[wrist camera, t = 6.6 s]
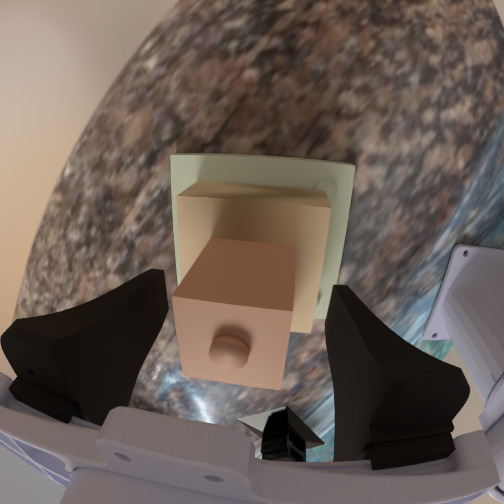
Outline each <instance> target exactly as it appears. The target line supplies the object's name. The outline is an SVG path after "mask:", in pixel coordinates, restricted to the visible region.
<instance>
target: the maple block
mask: <svg viewBox="0 0 504 504" xmlns="http://www.w3.org/2000/svg"><path fill="white" fill-rule="evenodd" d="M176 198H177V219H178V236H179V251H180V265H181V277H182V280H183V278H184V277H185V275H186V274H187V272H188V271H189V269H190V268H191V266H192V265H193V263H194V262H195V260H196V259H197V257H198V256H199V254H200V253H201V251H202V250H203V249H204V247H205V246H206V244H207V243H208V241H209V240H210V238H219V239H230V240H240V241H251V242H261V243H272V244H282V245H292V246H296V266H295V286H294V303H293V315H292V322H291V329H290V331H291V332H301V333H311V329H312V324H313V319H314V314H315V308H316V303H317V298H318V292H319V286H320V280H321V275H322V269H323V262H324V256H325V249H326V243H327V236H328V229H329V222H330V214H331V206H330V203H329V199H328V196H327V193H326V191H318V190H308V189H298V188H287V187H276V186H263V185H250V184H234V183H217V182H195V183H194V184H192V185H191V186H190V187H188V188H187V189H185V190H184V191H183V192H181V193H180V194H178V195H177V196H176Z"/></svg>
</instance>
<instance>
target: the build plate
mask: <svg viewBox="0 0 504 504" xmlns="http://www.w3.org/2000/svg"><path fill="white" fill-rule="evenodd" d="M354 172H355V165H353V164H352V163H344V162H336V161H327V160H317V159H307V158H296V157H283V156H268V155H250V154H225V153H174V154H172V155H171V190H172V211H173V228H174V243H175V256H176V268H177V279H178V286H179V284H180V283H181V281H182V277H181V265H180V251H179V236H178V219H177V198H176V196H177V195H178V194H180V193H181V192H183V191H184V190H185V189H187V188H188V187H190V186H191V185H192V184H194V183H195V182H217V183H234V184H250V185H263V186H276V187H287V188H298V189H308V190H318V191H326V193H327V196H328V199H329V203H330V206H331V214H330V222H329V229H328V236H327V243H326V249H325V256H324V262H323V269H322V275H321V280H320V286H319V292H318V298H317V303H316V308H315V314H314V318H316V319H326V316H327V311H328V307H329V302H330V297H331V292H332V287H333V285H336V284H337V279H338V274H339V269H340V264H341V258H342V253H343V247H344V241H345V235H346V229H347V223H348V216H349V210H350V203H351V196H352V188H353V180H354Z"/></svg>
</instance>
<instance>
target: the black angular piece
mask: <svg viewBox="0 0 504 504" xmlns="http://www.w3.org/2000/svg"><path fill="white" fill-rule="evenodd" d="M238 420H239V421H240V422H242V423H243V424H244V425H245V426H246V427H248V428H249V429H250V430H252V431H253V432H254V433H255V434H257V435H258V436H259V437H261V438H262V445H261V453H262V459H263V460H268V461H284V462H306V449H309V448H312V447H316V446H320V445H323V444H325V443H324V442H323V441H322V440H321V439H320V438H319V437H318V436H317V435H316V434H315V433H314V432H313V431H312V430H311V429H310V428H309V427H308V426H307V425H306V424H305V423H304V422H303V421H302V420H301V419H300V418H299V417H298V416H297V415H296V414H295V413H294V412H293V411H292V410H291V409H290V408H289V407H288V406H284V407H281V408H278V409H274V410H270V411H267V412H263V413H259V414H255V415H251V416H247V417H243V418H239V419H238ZM266 443H267V444H266Z"/></svg>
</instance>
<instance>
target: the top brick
mask: <svg viewBox="0 0 504 504" xmlns="http://www.w3.org/2000/svg"><path fill="white" fill-rule="evenodd" d="M295 266H296V246H292V245H282V244H272V243H261V242H251V241H240V240H230V239H219V238H210V240H209V241H208V243H207V244H206V246H205V247H204V249H203V250H202V251H201V253H200V254H199V256H198V257H197V259H196V260H195V262H194V263H193V265H192V266H191V268H190V269H189V271H188V272H187V274H186V275H185V277H184V278H183V280H182V281H181V283H180V284H179V286H178V287H177V289H176V290H175V292H174V293H173V295H172V302H173V310H174V318H175V325H176V332H177V339H178V345H179V352H180V358H181V364H182V370H183V375H186V376H191V377H196V378H201V379H207V380H212V381H218V382H224V383H230V384H237V385H243V386H251V387H258V388H266V389H275V390H281V385H282V379H283V373H284V367H285V361H286V355H287V348H288V342H289V335H290V329H291V322H292V315H293V303H294V286H295Z"/></svg>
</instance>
